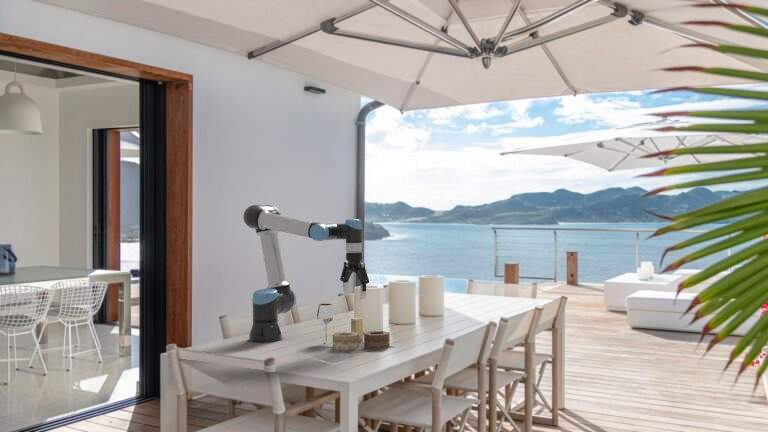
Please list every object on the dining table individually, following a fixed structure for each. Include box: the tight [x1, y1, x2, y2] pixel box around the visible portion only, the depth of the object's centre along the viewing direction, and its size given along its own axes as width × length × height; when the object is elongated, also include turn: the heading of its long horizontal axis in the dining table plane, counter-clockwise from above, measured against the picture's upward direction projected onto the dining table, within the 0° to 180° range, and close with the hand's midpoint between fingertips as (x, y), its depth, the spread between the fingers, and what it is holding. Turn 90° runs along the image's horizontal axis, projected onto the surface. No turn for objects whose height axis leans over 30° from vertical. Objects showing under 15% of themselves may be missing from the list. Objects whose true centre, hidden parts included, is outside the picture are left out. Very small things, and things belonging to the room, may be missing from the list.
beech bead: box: [332, 331, 360, 351], centre depth 291 cm, size 11×11×6 cm
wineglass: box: [316, 303, 336, 344], centre depth 304 cm, size 8×8×18 cm
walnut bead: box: [363, 330, 391, 350], centre depth 293 cm, size 11×11×6 cm
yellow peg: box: [350, 317, 364, 343], centre depth 306 cm, size 4×4×11 cm
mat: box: [327, 341, 395, 355], centre depth 292 cm, size 24×18×1 cm
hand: (354, 297), depth 312 cm, fingers open, 13 cm apart
